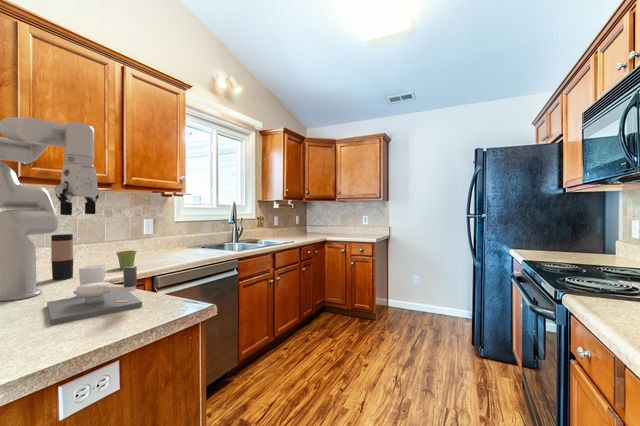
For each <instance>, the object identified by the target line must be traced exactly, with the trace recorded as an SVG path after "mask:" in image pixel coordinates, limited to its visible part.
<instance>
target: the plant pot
mask: <svg viewBox="0 0 640 426" xmlns="http://www.w3.org/2000/svg"><path fill="white" fill-rule="evenodd" d="M115 253H116V255H117V257H118V262H119V268H120V269H122V270H123V268H124V267H129V266H135V258H136V254H137V250H123V251H122V250H121V251H117V252H115Z"/></svg>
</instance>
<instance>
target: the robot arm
mask: <svg viewBox="0 0 640 426" xmlns="http://www.w3.org/2000/svg"><path fill="white" fill-rule="evenodd" d="M0 134H1V135H2V136H0V209H2V211H0V302H6V301H10V302H11V301H16V300H18V301H19V300H23V299H28V298H29V299H30V298H32V297H36V296H38V295H41V294H42V292H43V289H41V288H37V262H36V261H37V260H36V259H37V258H36V257H37V255H36V250H37V249H36V246H35V243H34V242H33V241H32V239H30V237H28V236H33V235H45V234H51V233H53V232H56V231H57V230H58V227H59V217H58V214H57V211H56V209H55V207H54V204H53V201H52V199H51V195H50V194H49V191H48V190H47V189H45V188H44V187H43V186H41V185H40V186H39V185H34V184H22V183H21V182H20V180H19V179H18V176H17V174H16V172H15V171H14V170H13V169H12V168H11V167H10V166H9V165H8V164H6V163H5V162H3V161H7V162H15V163H16V162H17V163H28V164H29V163H30V164H31V163H33V162H35V161H36V160H38V158H39V157H40V156H41V155H42V154H43V153H44V152H45V151H46V150H47V149H48V148H49V147H50V146H54V147H58V148H59V147H60V148H64V151H63V153H64V156H63V159H64V161H63V166H62V169H61V171H62V172H61V177H60V183H59V184H58V185H56V186H54V187H53V191H54V193H55V197H56V198H57V199H58V202H59V203H60V207H59V208H60V210H59V211H60V213H59V214H60V215H61V216H72V215H73V202H72V200H73V198H74V197H79V198H80V197H83V198H84V200H85V202H84V213H85V215H95V214H96V208H97V207H96V203H97V202H98V199H99V195H100V193H101V189H99V187H98V177H97V176H98V175H97V171H96V168H95V166H94V165H95V164H94V163H95V151H94V150H95V130H94V128H93V126H91V125H89V124H86V123H83V122H82V123H81V122H73V121H72V122H67V123H65V124H64V123H59V122H55V121H51V120H46V119H41V118H36V117H35V118H33V117H27V116H26V117H15V116H9V117H5V118H3V119H1V120H0Z"/></svg>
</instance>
